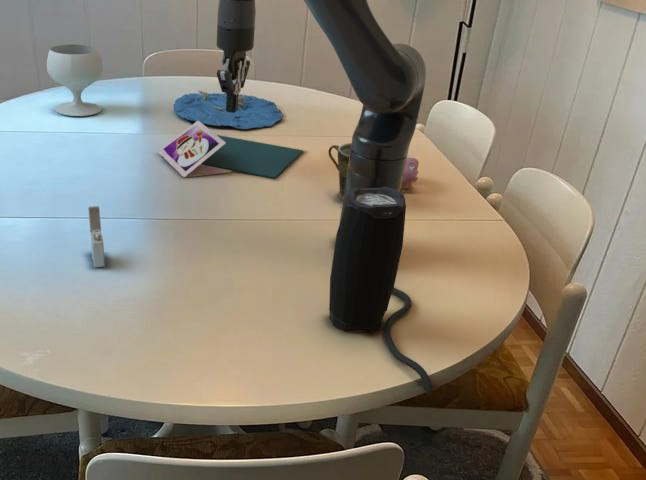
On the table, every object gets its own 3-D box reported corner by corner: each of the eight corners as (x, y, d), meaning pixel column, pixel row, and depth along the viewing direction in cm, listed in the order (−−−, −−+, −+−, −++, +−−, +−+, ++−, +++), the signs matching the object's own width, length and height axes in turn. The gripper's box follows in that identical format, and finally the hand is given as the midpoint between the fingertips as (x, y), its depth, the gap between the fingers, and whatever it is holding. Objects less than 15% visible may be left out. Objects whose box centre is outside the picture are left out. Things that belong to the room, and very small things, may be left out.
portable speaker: (312, 317, 106) (329, 192, 95) (355, 299, 111) (375, 178, 100) (356, 343, 101) (378, 213, 89) (398, 323, 106) (425, 198, 94)
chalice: (100, 119, 181) (97, 57, 172) (45, 117, 181) (39, 54, 172) (108, 104, 192) (106, 45, 184) (56, 102, 192) (51, 42, 184)
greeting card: (181, 174, 150) (156, 149, 161) (199, 199, 155) (173, 173, 166) (224, 139, 149) (196, 117, 160) (240, 165, 155) (212, 142, 165)
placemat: (274, 179, 152) (274, 177, 152) (173, 159, 159) (173, 157, 159) (303, 152, 167) (303, 150, 167) (209, 135, 175) (209, 133, 174)
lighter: (104, 266, 116) (102, 221, 112) (94, 267, 116) (91, 221, 111) (101, 247, 122) (98, 203, 117) (90, 248, 121) (87, 203, 117)
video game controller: (402, 201, 149) (424, 173, 145) (384, 189, 149) (405, 161, 145) (402, 184, 157) (422, 158, 153) (385, 173, 157) (405, 146, 153)
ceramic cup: (390, 200, 145) (399, 151, 139) (362, 213, 139) (370, 163, 133) (338, 182, 152) (344, 135, 147) (309, 194, 146) (315, 145, 140)
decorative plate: (303, 116, 196) (306, 96, 193) (247, 141, 174) (249, 120, 171) (213, 92, 208) (215, 73, 205) (150, 113, 186) (151, 92, 183)
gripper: (231, 16, 148) (227, 101, 158) (205, 25, 138) (202, 116, 148) (265, 20, 146) (259, 106, 156) (241, 30, 136) (236, 122, 146)
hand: (231, 111), depth 152 cm, fingers closed
